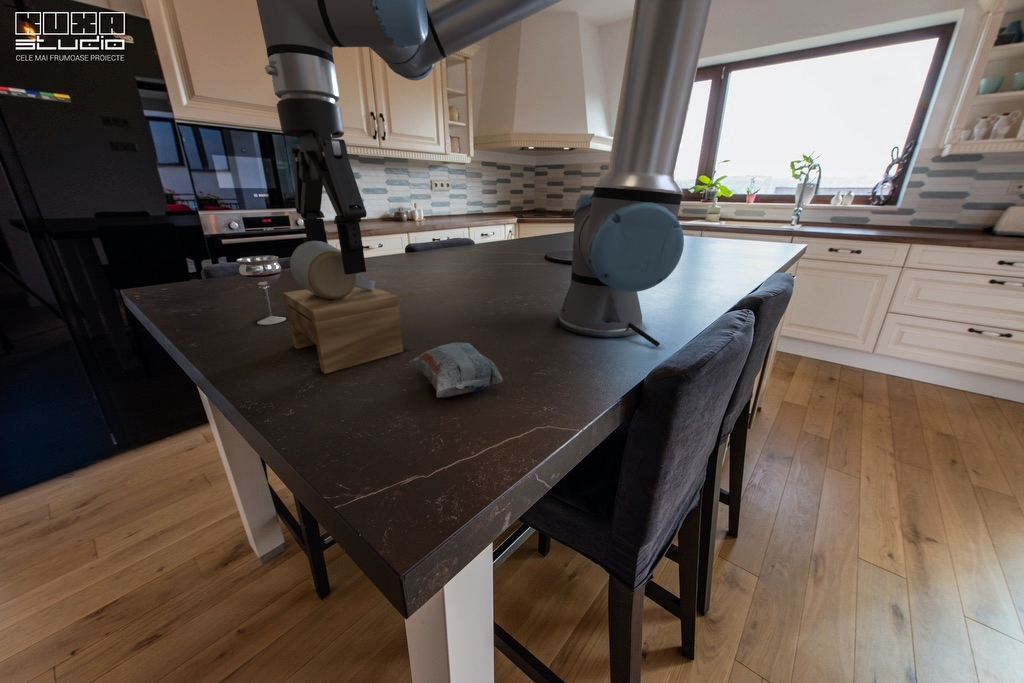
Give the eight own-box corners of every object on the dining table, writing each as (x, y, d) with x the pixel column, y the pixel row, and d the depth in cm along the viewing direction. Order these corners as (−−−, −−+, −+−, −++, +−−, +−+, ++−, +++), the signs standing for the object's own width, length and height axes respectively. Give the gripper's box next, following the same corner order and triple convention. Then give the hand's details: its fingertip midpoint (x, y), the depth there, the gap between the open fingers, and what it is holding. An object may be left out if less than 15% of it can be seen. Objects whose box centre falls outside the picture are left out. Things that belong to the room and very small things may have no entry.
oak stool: (403, 351, 62) (397, 296, 59) (324, 374, 55) (313, 311, 51) (365, 330, 72) (358, 281, 69) (294, 346, 64) (282, 292, 61)
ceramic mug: (312, 305, 54) (303, 247, 51) (294, 294, 59) (284, 242, 57) (385, 293, 61) (380, 242, 58) (362, 285, 66) (357, 238, 64)
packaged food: (437, 414, 45) (435, 374, 43) (409, 374, 54) (406, 341, 53) (505, 397, 49) (505, 360, 47) (467, 363, 58) (467, 331, 57)
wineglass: (268, 314, 81) (254, 255, 76) (298, 316, 80) (286, 256, 75) (242, 325, 74) (226, 261, 70) (275, 326, 73) (261, 262, 69)
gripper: (253, 112, 57) (285, 260, 65) (309, 76, 40) (344, 283, 47) (308, 118, 62) (331, 255, 69) (379, 88, 45) (400, 274, 52)
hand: (336, 267), depth 58 cm, fingers open, 13 cm apart
